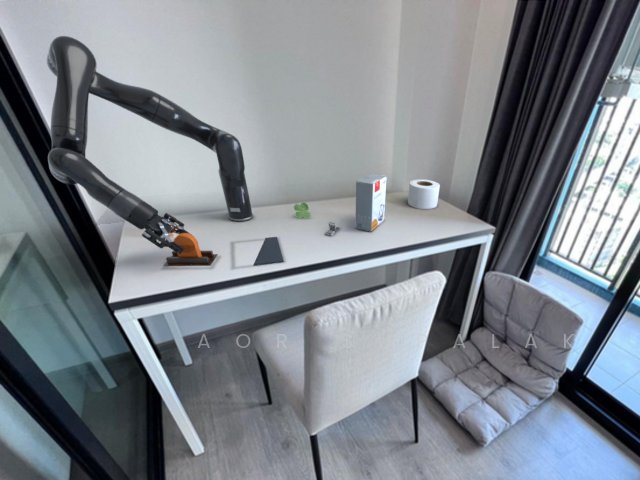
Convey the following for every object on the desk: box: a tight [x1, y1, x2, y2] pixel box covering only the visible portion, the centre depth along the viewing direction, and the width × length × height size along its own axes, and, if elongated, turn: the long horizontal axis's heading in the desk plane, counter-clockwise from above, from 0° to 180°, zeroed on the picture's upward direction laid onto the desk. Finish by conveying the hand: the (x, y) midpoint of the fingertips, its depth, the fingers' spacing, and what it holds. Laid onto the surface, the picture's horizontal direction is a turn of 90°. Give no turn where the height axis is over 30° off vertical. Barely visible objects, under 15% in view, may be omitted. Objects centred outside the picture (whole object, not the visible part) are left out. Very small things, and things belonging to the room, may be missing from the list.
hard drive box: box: [355, 173, 387, 232], centre depth 138 cm, size 16×8×20 cm, turn 161°
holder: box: [162, 250, 219, 267], centre depth 106 cm, size 14×8×3 cm, turn 98°
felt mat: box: [252, 236, 285, 267], centre depth 115 cm, size 20×16×1 cm
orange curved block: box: [173, 233, 202, 257], centre depth 103 cm, size 6×2×9 cm, turn 98°
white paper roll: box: [407, 179, 441, 210], centre depth 168 cm, size 16×15×11 cm
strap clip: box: [325, 221, 341, 237], centre depth 133 cm, size 8×3×4 cm, turn 164°
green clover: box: [293, 202, 312, 219], centre depth 146 cm, size 7×8×7 cm
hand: (187, 245), depth 103 cm, fingers open, 8 cm apart
